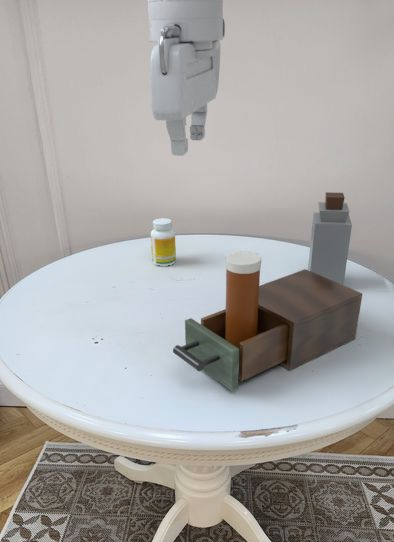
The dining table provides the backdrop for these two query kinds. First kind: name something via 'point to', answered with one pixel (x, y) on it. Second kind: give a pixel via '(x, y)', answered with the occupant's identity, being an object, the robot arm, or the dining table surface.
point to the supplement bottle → (163, 242)
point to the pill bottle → (242, 296)
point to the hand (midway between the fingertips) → (189, 146)
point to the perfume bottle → (330, 238)
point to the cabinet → (311, 314)
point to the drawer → (233, 348)
